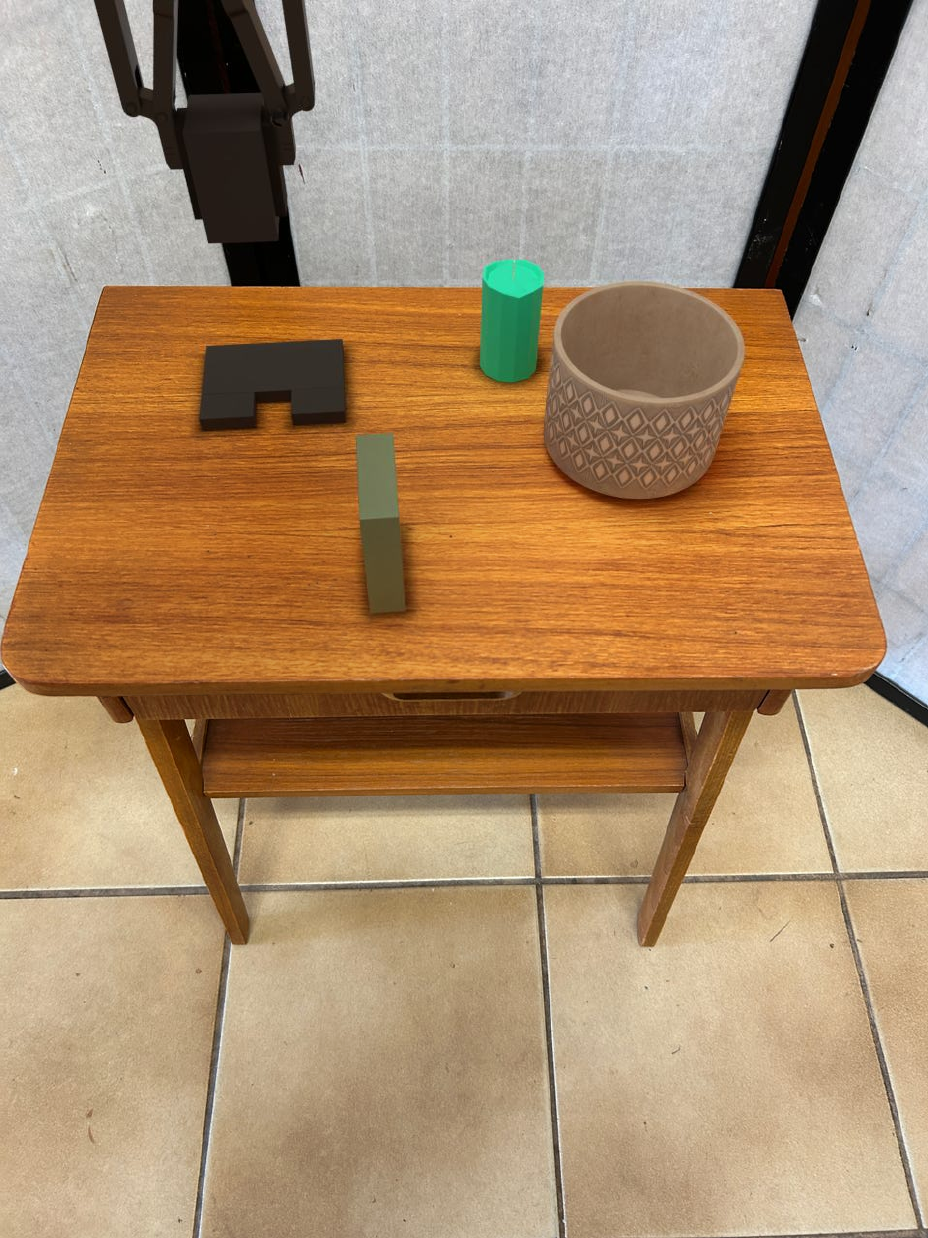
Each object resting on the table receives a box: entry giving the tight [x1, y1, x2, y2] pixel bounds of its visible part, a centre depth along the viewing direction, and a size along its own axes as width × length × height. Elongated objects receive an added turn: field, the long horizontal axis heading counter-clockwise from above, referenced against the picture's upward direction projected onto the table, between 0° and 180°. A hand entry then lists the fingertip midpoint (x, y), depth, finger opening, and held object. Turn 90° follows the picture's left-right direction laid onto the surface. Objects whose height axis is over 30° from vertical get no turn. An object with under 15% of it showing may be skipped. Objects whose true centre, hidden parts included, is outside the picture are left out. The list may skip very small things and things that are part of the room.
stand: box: [355, 432, 407, 615], centre depth 78 cm, size 3×9×12 cm, turn 5°
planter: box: [542, 280, 746, 500], centre depth 87 cm, size 16×16×13 cm
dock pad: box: [198, 338, 347, 431], centre depth 96 cm, size 14×11×2 cm
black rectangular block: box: [182, 92, 280, 245], centre depth 67 cm, size 5×8×8 cm, turn 5°
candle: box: [479, 258, 545, 384], centre depth 94 cm, size 6×6×12 cm
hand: (241, 206), depth 69 cm, fingers closed on black rectangular block, 5 cm apart
